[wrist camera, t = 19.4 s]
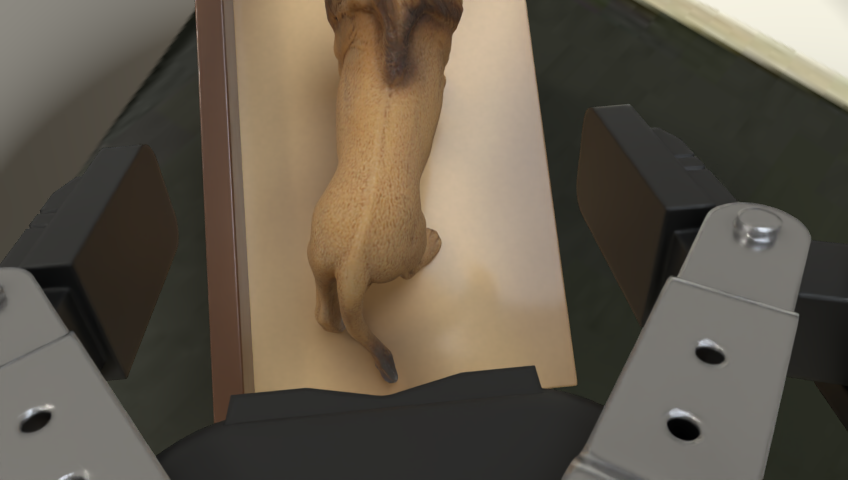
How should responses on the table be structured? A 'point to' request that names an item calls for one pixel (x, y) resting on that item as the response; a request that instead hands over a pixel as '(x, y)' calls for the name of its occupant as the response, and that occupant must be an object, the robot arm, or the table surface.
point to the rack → (440, 203)
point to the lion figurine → (379, 156)
